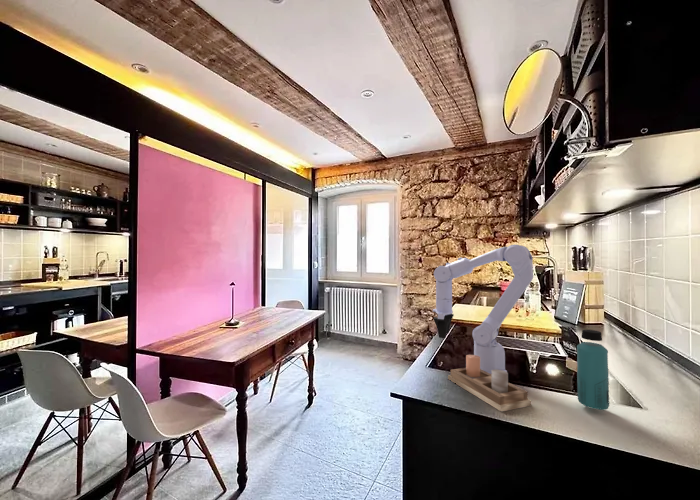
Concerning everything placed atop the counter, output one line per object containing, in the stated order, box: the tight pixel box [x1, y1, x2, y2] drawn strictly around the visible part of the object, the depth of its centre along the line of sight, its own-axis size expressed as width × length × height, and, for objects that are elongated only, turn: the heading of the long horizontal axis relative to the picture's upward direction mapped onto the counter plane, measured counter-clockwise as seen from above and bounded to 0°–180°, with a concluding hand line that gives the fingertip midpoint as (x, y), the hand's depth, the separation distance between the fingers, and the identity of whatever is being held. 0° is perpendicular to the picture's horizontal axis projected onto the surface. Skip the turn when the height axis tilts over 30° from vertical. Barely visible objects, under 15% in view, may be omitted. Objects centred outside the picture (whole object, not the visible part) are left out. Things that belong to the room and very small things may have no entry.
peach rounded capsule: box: [465, 354, 481, 379], centre depth 93 cm, size 4×4×7 cm
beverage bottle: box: [576, 329, 611, 411], centre depth 78 cm, size 6×7×20 cm
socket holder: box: [447, 367, 532, 412], centre depth 88 cm, size 10×21×7 cm, turn 19°
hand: (443, 335), depth 113 cm, fingers open, 7 cm apart
